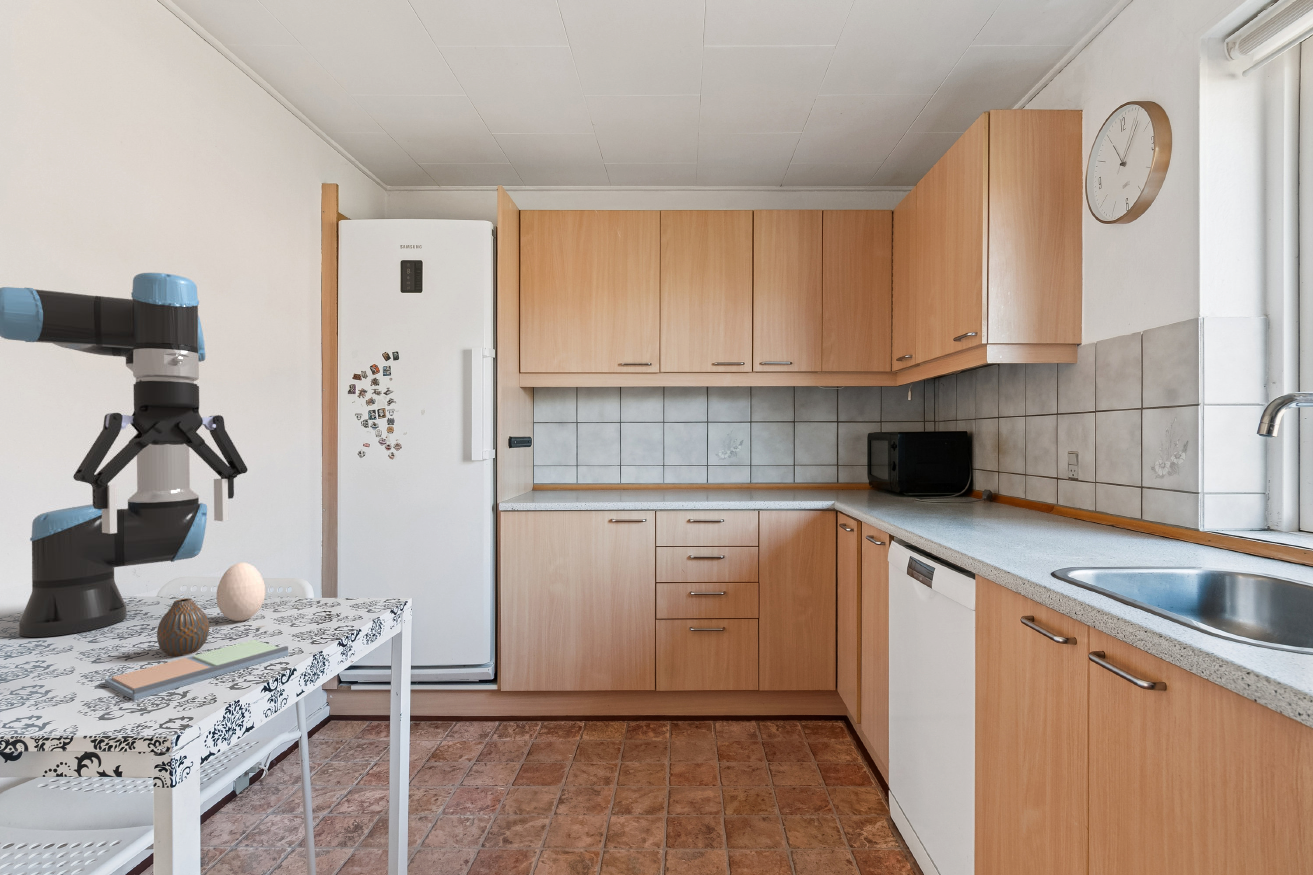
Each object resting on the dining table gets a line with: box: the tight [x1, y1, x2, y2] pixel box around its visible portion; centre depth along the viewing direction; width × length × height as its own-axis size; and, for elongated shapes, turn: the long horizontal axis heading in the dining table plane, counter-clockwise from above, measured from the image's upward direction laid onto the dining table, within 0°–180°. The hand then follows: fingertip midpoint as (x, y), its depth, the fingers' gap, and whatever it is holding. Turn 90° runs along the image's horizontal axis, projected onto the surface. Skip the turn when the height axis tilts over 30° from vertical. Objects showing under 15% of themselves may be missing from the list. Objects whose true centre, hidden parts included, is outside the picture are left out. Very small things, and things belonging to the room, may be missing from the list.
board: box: [104, 639, 289, 701], centre depth 94 cm, size 11×20×1 cm, turn 148°
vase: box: [156, 597, 210, 657], centre depth 102 cm, size 7×7×9 cm
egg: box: [215, 562, 266, 622], centre depth 120 cm, size 8×8×11 cm
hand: (169, 526), depth 89 cm, fingers open, 13 cm apart
